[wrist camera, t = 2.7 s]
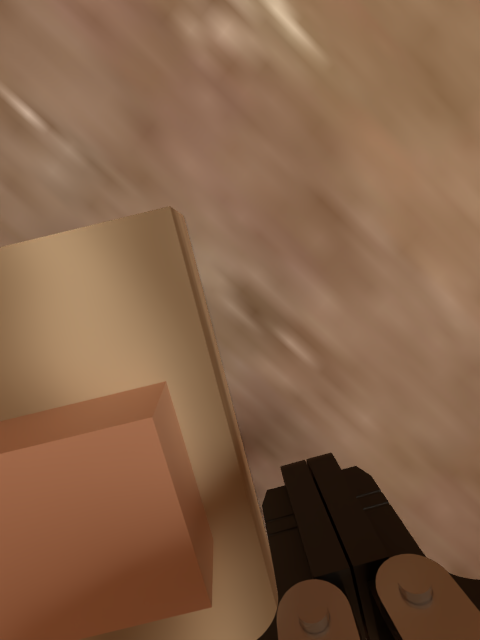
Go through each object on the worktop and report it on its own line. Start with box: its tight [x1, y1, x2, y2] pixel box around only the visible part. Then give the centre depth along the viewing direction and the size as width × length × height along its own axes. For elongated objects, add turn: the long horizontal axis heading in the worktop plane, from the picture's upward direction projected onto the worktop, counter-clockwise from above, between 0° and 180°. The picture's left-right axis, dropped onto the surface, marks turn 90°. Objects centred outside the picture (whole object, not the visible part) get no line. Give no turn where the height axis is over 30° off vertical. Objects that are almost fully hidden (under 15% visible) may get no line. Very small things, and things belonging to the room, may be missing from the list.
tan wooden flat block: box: [0, 206, 278, 640], centre depth 14 cm, size 12×16×4 cm
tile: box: [0, 381, 214, 640], centre depth 11 cm, size 9×6×2 cm, turn 103°
